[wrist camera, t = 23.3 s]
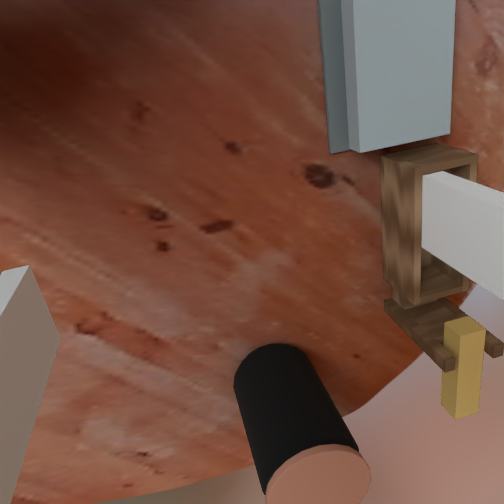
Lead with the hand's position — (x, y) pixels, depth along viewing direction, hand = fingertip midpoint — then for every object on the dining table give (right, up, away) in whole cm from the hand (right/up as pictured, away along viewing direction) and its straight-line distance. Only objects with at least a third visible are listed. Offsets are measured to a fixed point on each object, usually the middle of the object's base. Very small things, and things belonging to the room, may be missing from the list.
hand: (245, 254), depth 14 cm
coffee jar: (+3, -16, +43) cm, 46 cm away
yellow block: (+24, -13, +36) cm, 45 cm away
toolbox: (+20, +2, +39) cm, 44 cm away
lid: (+14, +19, +28) cm, 37 cm away
